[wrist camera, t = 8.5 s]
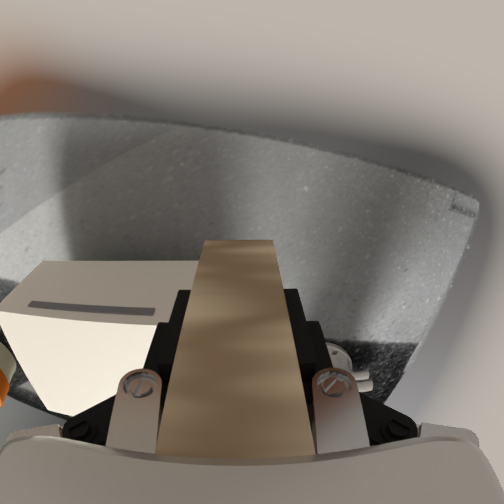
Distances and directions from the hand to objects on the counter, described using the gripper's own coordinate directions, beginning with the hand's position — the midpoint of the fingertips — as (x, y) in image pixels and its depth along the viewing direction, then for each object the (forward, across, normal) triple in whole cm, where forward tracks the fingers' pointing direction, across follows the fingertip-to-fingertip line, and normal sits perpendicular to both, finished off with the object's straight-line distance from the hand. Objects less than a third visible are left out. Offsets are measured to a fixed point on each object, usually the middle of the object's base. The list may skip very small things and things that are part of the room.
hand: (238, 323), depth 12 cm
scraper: (+3, 0, +7) cm, 8 cm away
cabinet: (+22, +12, +13) cm, 28 cm away
